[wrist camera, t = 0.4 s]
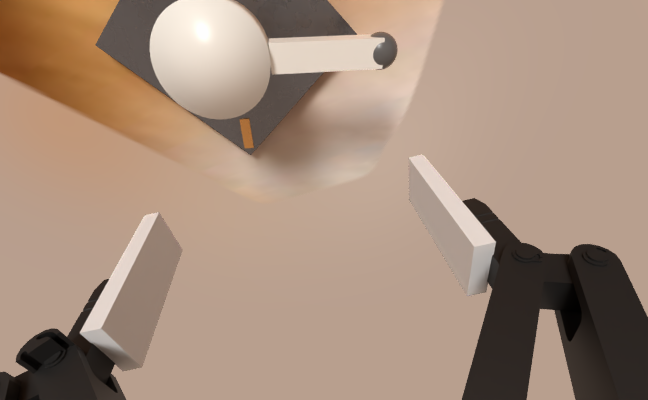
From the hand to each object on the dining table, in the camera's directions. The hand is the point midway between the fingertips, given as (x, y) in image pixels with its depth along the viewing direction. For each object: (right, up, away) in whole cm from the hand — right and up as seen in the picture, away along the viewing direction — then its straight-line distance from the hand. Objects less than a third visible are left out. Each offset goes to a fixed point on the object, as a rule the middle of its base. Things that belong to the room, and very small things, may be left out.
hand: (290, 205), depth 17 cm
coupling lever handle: (-2, +14, +12) cm, 18 cm away
